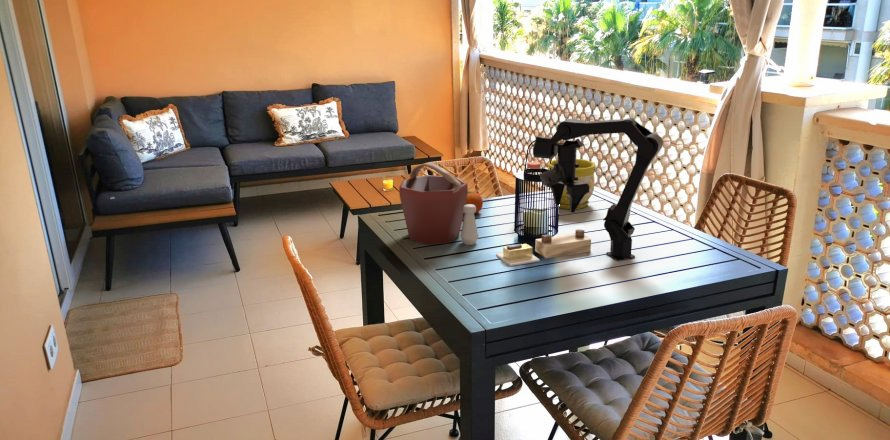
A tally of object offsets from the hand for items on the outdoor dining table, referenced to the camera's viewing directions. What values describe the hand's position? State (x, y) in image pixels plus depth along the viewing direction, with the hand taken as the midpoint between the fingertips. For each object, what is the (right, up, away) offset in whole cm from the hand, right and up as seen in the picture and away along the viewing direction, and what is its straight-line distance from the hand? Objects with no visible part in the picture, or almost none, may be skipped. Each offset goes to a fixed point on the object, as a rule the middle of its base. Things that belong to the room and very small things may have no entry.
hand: (564, 208), depth 220 cm
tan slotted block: (-15, -15, -5) cm, 22 cm away
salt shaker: (-30, -11, +9) cm, 33 cm away
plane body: (-1, -13, +1) cm, 13 cm away
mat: (-15, -15, -5) cm, 22 cm away
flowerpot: (+10, +2, +50) cm, 51 cm away
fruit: (-29, -1, +41) cm, 51 cm away
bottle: (-6, -2, +37) cm, 37 cm away
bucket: (-42, -9, +16) cm, 46 cm away
